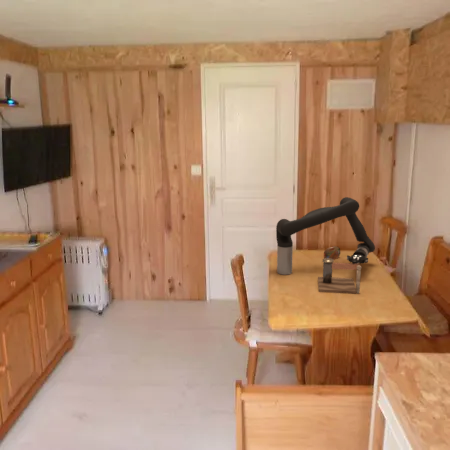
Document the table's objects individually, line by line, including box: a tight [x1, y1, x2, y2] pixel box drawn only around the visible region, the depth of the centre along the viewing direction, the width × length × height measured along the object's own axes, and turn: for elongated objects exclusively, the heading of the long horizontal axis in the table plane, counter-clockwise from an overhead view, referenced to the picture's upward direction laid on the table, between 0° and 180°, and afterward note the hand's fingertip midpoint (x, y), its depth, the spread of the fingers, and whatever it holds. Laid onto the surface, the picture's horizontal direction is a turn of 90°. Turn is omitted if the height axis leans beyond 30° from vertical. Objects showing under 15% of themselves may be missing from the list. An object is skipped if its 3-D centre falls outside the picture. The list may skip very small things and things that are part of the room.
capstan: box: [322, 257, 360, 283], centre depth 261 cm, size 20×6×13 cm, turn 78°
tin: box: [323, 245, 341, 261], centre depth 308 cm, size 15×3×8 cm, turn 129°
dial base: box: [317, 264, 362, 295], centre depth 260 cm, size 20×22×16 cm
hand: (354, 263), depth 264 cm, fingers closed
